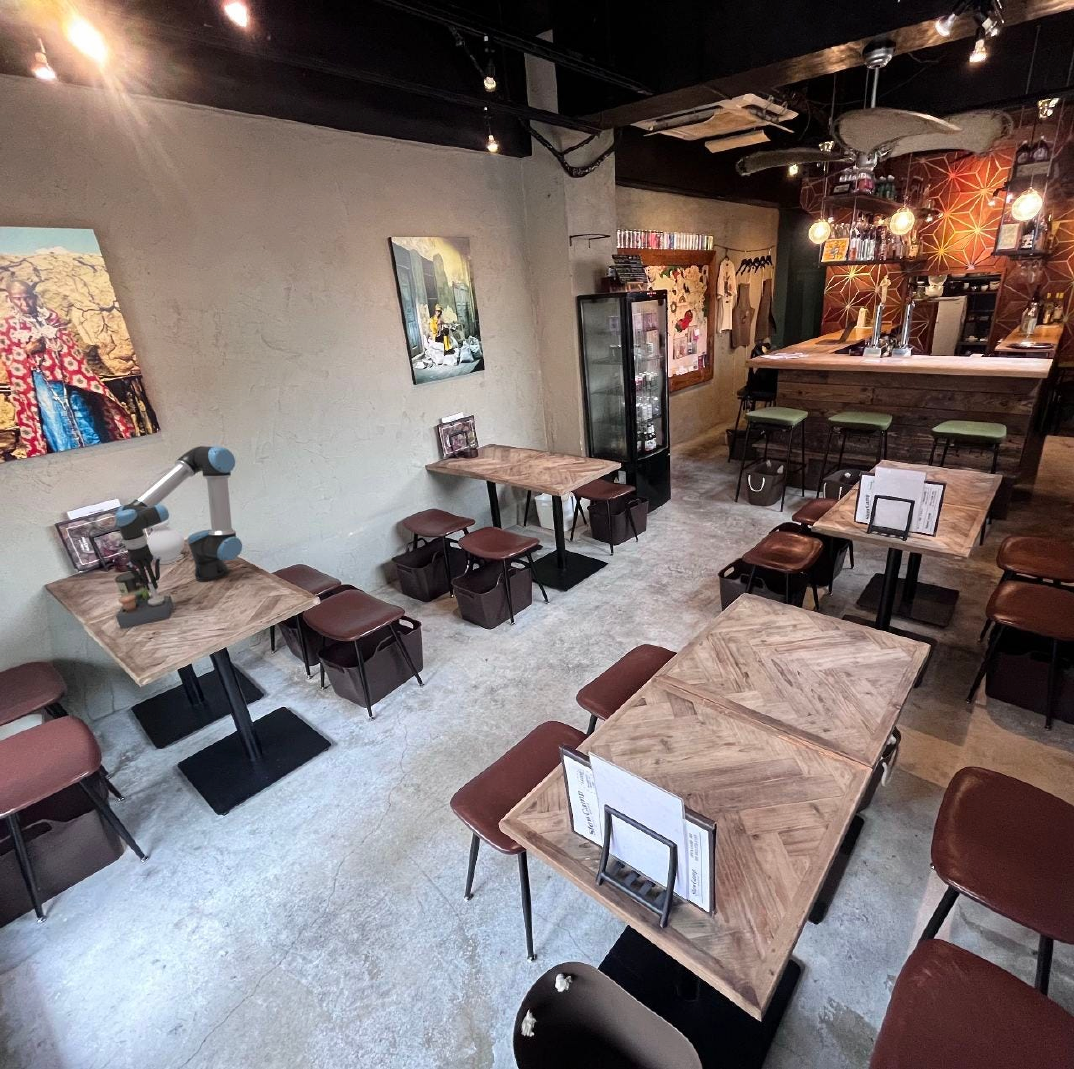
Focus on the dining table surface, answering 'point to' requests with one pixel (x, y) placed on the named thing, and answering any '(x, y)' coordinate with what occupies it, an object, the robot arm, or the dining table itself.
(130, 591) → the coffee can
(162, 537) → the decorative vase
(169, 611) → the plunger block
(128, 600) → the terracotta plunger
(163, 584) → the dining table surface
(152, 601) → the cream plunger
